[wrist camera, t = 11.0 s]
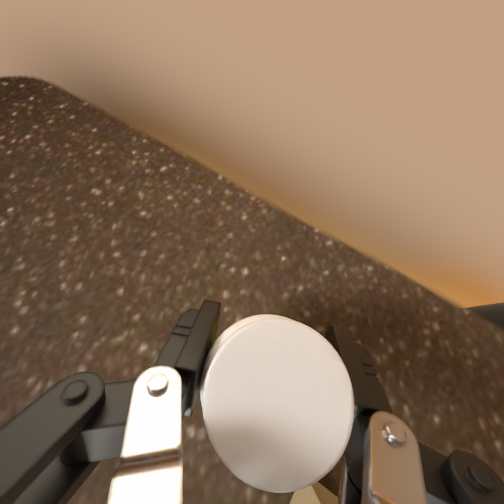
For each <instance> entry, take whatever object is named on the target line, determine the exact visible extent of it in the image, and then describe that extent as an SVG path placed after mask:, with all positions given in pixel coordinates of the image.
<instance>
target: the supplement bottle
mask: <svg viewBox="0 0 504 504" xmlns="http://www.w3.org/2000/svg"><path fill="white" fill-rule="evenodd" d="M200 396H201V403H202V408H203V417H204V423H205V427H206V431H207V434H208V437H209V440H210V442H211V445H212V447H213V449H214V450H215V452H216V454H217V456H218V457H219V459H220V460H221V461H222V463H223V464H224V465H225V466H226V467H227V468H228V470H229V471H230V472H231V473H233V474H234V475H235V476H236V477H237V478H239V479H240V480H242V481H243V482H244V483H246V484H248V485H250V486H252V487H254V488H256V489H260V490H264V491H267V492H274V493H287V492H293V491H298V490H301V489H304V488H307V487H309V486H311V485H312V484H314V483H316V482H317V481H319V480H320V479H321V478H323V477H324V476H325V475H326V474H327V473H328V472H330V471H331V469H332V468H333V467H334V466H335V465H336V464H337V462H338V461H339V459H340V458H341V456H342V454H343V453H344V451H345V449H346V446H347V444H348V441H349V438H350V435H351V431H352V426H353V420H354V395H353V389H352V384H351V381H350V378H349V375H348V372H347V369H346V367H345V365H344V363H343V361H342V359H341V358H340V356H339V354H338V353H337V351H336V350H335V349H334V348H333V346H332V345H331V344H330V343H329V342H328V341H327V340H326V339H325V338H324V337H323V336H322V335H321V334H319V333H318V332H317V331H315V330H314V329H312V328H310V327H309V326H306V325H304V324H302V323H300V322H297V321H294V320H292V319H289V318H286V317H283V316H278V315H268V314H263V315H255V316H251V317H247V318H245V319H242V320H240V321H238V322H236V323H235V324H233V325H231V326H230V327H229V328H228V329H226V330H225V331H224V332H223V333H222V334H221V335H220V336H219V337H218V339H217V340H216V341H215V343H214V344H213V345H212V347H211V349H210V351H209V353H208V355H207V357H206V360H205V362H204V366H203V370H202V375H201V383H200Z"/></svg>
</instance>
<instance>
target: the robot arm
mask: <svg viewBox="0 0 504 504" xmlns="http://www.w3.org/2000/svg"><path fill="white" fill-rule="evenodd" d="M220 308H221V303H219V302H214V301H209V300H204V302H203V304H202V306H201V308H200V310H194V309H189V310H188V311H186V312H185V313H184V314H182V315H181V316H180V318H179V320H178V322H177V324H176V326H175V327H174V329H173V331H172V334H171V335H170V336H169V338H168V340H167V342H166V344H165V346H164V347H163V349H162V351H161V353H160V355H159V357H158V358H157V360H156V362H155V364H154V365H153V367H152V368H150V369H148V370H146V371H145V372H143V373H142V374H141V375H140V376H139V377H138V378H136V379H133V380H130V381H122V382H112V383H104V380H103V378H102V377H101V376H100V375H99V374H97V373H94V372H79V373H75V374H72V375H70V376H67V377H65V378H64V379H62V380H61V381H59V382H58V383H56V384H55V385H54V386H53V387H51V388H50V389H49V390H48V391H46V392H45V393H44V394H43V395H41V396H40V397H39V398H38V399H36V400H35V401H34V402H33V403H31V404H30V405H29V406H28V407H26V408H25V409H24V410H22V411H21V412H20V413H19V414H17V415H16V416H15V417H14V418H12V419H11V420H10V421H9V422H7V423H6V424H5V425H4V426H2V427H1V428H0V504H67V502H68V501H69V500H70V499H71V497H72V496H73V495H74V494H75V492H76V491H77V490H78V489H79V487H80V486H81V485H82V484H83V482H84V481H85V480H86V479H87V477H88V476H89V475H90V474H91V472H92V471H93V470H94V469H95V467H96V466H97V465H98V464H99V462H100V461H101V460H105V459H111V458H116V457H120V460H119V463H118V465H117V466H116V468H115V471H114V474H113V478H112V482H111V487H110V492H109V497H108V502H107V504H182V454H181V423H182V420H183V417H184V416H189V417H191V416H192V413H193V409H194V406H195V403H196V400H197V397H198V393H199V390H200V383H201V375H202V370H203V366H204V362H205V360H206V357H207V355H208V353H209V351H210V349H211V347H212V345H213V344H214V342H215V338H216V333H217V328H218V321H219V315H220ZM324 338H325V339H326V340H327V341H328V342H329V343H330V344H331V345H332V346H333V348H334V349H335V350H336V351H337V353H338V354H339V356H340V358H341V359H342V361H343V363H344V365H345V367H346V369H347V372H348V375H349V378H350V381H351V384H352V389H353V395H354V420H353V426H352V431H351V435H350V438H349V441H348V444H347V446H346V449H345V451H344V455H345V460H344V462H343V464H342V467H341V475H340V485H339V495H338V504H504V482H503V481H502V480H501V479H500V478H499V476H498V475H497V474H496V473H495V472H494V471H493V470H492V469H491V468H490V467H489V466H488V465H487V464H486V463H484V462H483V461H482V460H480V459H479V458H477V457H476V456H474V455H472V454H470V453H468V452H466V451H462V450H456V451H454V452H452V453H451V454H450V455H449V456H448V457H446V456H444V455H442V454H440V453H439V452H437V451H435V450H433V449H431V448H429V447H427V446H425V445H423V444H421V443H420V442H418V441H417V439H416V437H415V436H414V434H413V432H412V431H411V430H410V428H409V427H408V426H407V425H406V424H405V423H404V422H403V421H402V420H400V419H399V418H398V417H396V416H394V415H393V413H392V410H391V408H390V406H389V403H388V401H387V398H386V396H385V394H384V391H383V389H382V386H381V384H380V382H379V379H378V377H376V372H375V370H374V368H373V367H372V366H373V365H372V363H371V360H370V358H369V356H368V354H367V353H366V351H365V350H364V349H363V348H362V347H361V345H360V344H358V343H354V342H353V339H352V337H351V334H350V332H349V330H348V329H345V328H340V327H335V326H329V328H328V329H327V332H326V334H325V337H324Z"/></svg>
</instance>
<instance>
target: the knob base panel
mask: <svg viewBox="0 0 504 504" xmlns="http://www.w3.org/2000/svg"><path fill="white" fill-rule="evenodd" d="M289 504H338V497H337V496H335V495H334V494H333V493H331V492H330V491H329V490H328V489H326V488H325V487H324V486H323V485H321V484H320V483H319V482H316V483H314V484H312V485H311V486H309V487H307V488H304V489H301V490H298V491H295V492H294V494H293V496H292V499H291V501H290V503H289Z"/></svg>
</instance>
